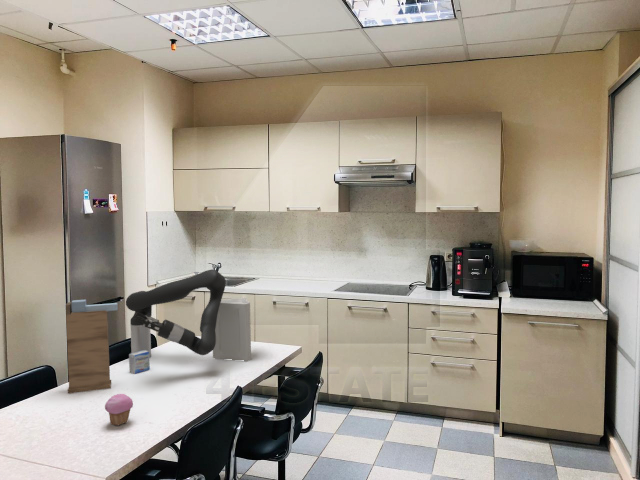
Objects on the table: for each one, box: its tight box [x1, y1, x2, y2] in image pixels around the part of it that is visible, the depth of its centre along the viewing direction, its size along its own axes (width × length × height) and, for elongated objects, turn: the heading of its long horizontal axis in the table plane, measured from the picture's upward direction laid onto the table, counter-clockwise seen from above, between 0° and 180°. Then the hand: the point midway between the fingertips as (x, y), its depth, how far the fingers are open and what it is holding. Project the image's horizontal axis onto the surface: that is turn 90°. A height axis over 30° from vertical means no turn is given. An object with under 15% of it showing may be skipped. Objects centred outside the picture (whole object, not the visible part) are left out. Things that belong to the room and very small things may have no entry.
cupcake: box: [104, 393, 134, 427], centre depth 172 cm, size 9×9×10 cm
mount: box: [65, 301, 112, 395], centre depth 206 cm, size 7×16×36 cm, turn 110°
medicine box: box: [128, 350, 151, 375], centre depth 229 cm, size 8×4×9 cm, turn 143°
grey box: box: [212, 297, 252, 362], centre depth 250 cm, size 19×15×28 cm
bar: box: [71, 299, 119, 313], centre depth 206 cm, size 5×17×5 cm, turn 110°
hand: (135, 316), depth 212 cm, fingers open, 8 cm apart
